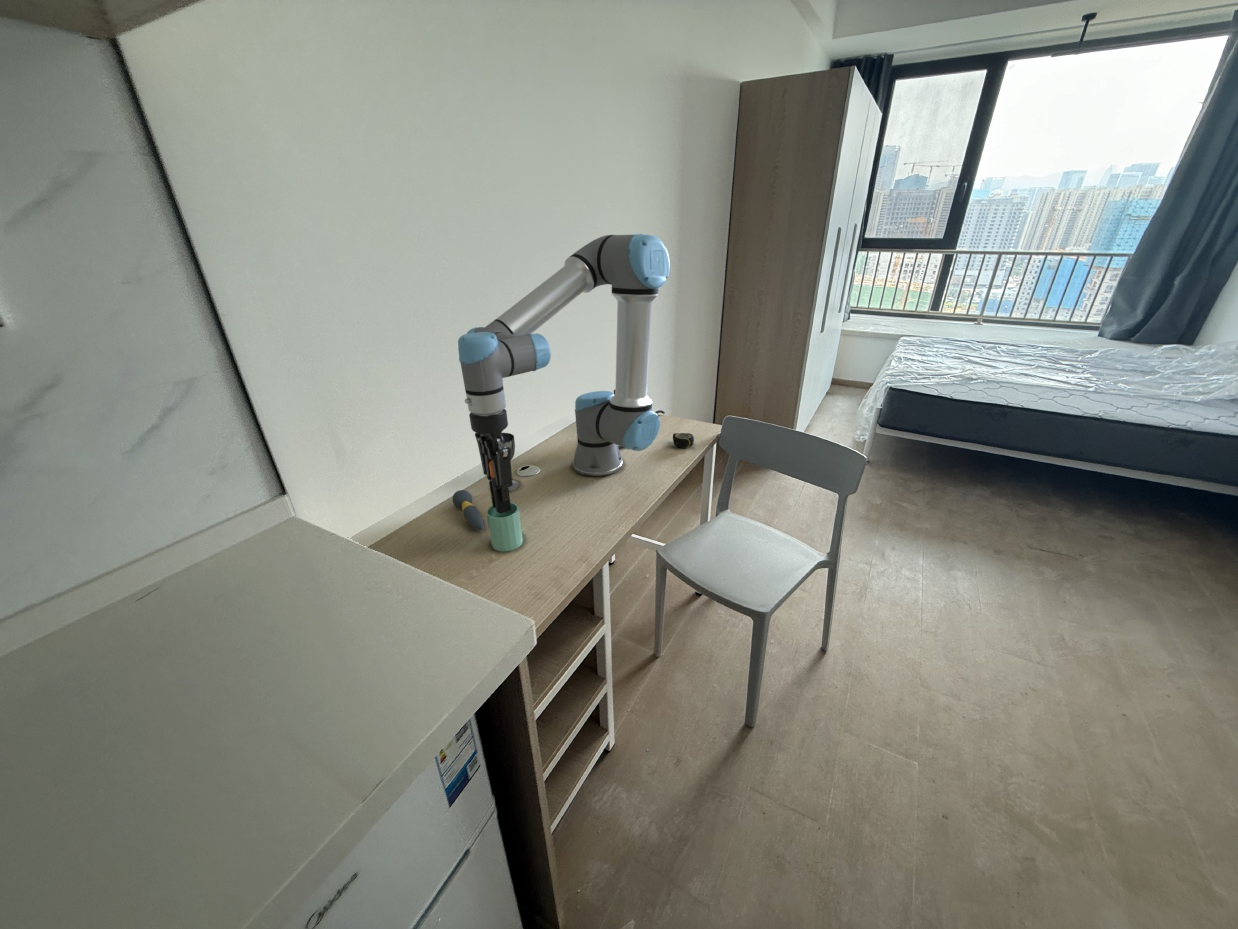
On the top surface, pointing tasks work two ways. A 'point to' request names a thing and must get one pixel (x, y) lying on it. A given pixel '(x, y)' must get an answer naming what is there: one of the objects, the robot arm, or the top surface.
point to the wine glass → (511, 443)
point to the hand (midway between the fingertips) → (502, 508)
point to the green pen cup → (505, 528)
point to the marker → (493, 484)
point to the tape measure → (683, 439)
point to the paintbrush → (468, 509)
